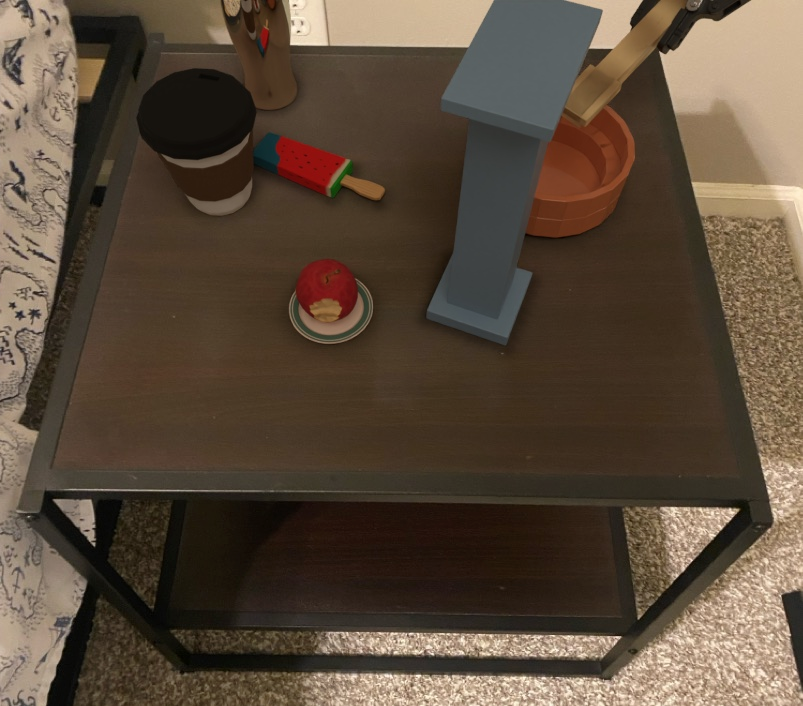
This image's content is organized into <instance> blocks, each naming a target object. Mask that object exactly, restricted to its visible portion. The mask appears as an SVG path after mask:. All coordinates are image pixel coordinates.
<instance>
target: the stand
mask: <svg viewBox="0 0 803 706" xmlns="http://www.w3.org/2000/svg"><path fill="white" fill-rule="evenodd" d="M603 12H604V10H603V9H602V8H598V7H594V6H590V5H586V4H583V3H582V4H581V3H577V2H574V1H570V0H493V1H492V3H491V4H490V6H489V8H488V10H487V12H486V14H485V16H484V18H483V19H482V21H481V23H480V25H479V27H478V29H477V30H476V32H475V34H474V36H473V38H472V40H471V42H470V44H469V45H468V48H467V49H466V51H465V53H464V54H463V57H462V59H461V61H460V62H459V64H458V66H457V68H456V69H455V71H454V73H453V75H452V77H451V79H450V80H449V82H448V84H447V86H446V88H445V90H444V92H443V93H442V96H441V97H440V106H439V107H440V109H439V110H440V111H441V112H444V113H448V114H451V115H454V116H458V117H461V118H465V119H468V125H467V126H468V127H467V136H466V144H465V152H464V161H463V168H462V169H463V170H462V177H461V186H460V193H459V200H458V201H459V203H458V210H457V219H456V228H455V236H454V246H453V251H452V254H451V256H450V259H449V260H448V263H447V265H446V267H445V270H444V272H443V273H442V276H441V278H440V281H439V282H438V285H437V287H436V289H435V292H434V294H433V295H432V298H431V299H430V302H429V305H428V307H427V309H426V315H425V316H426V317H425V318H426V320H428V321H432V322H434V323H438V324H441V325H443V326H447V327H450V328H452V329H455V330H458V331H462V332H464V333H467V334H470V335H473V336H475V337H479V338H482V339H484V340H488V341H491V342H493V343H496V344H499V345H502V346H507V344H508V341H509V339H510V336H511V334H512V331H513V328H514V326H515V324H516V321H517V317H518V315H519V313H520V310H521V308H522V304H523V302H524V299H525V297H526V294H527V291H528V289H529V286H530V284H531V281H532V278H533V272H532V271H529V270H527V269H523V268H521V267H518V263H519V259H520V255H521V251H522V248H523V244H524V240H525V237H526V233H525V232H526V228H527V224H528V220H529V216H530V212H531V208H532V205H533V201H534V197H535V193H536V189H537V185H538V181H539V177H540V173H541V169H542V165H543V161H544V157H545V153H546V149H547V145H548V142H551V140H552V137H553V135H554V133H555V130H556V128H557V125H558V123H559V120H560V118H561V115H562V113H563V111H564V108H565V106H566V103H567V101H568V98H569V96H570V94H571V91H572V89H573V86H574V84H575V81H576V79H577V77H578V76H579V75H580V72H581V70H582V67H583V64H584V62H585V59H586V57H587V55H588V52H589V49H590V47H591V44H592V42H593V40H594V38H595V35H596V33H597V31H598V29H599V25H600V23H601V19H602V16H603Z"/></svg>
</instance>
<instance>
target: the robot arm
mask: <svg viewBox="0 0 803 706" xmlns="http://www.w3.org/2000/svg"><path fill="white" fill-rule="evenodd" d="M659 1H660V0H642V1H641V2H640V4H639V5H638V7H637V8H636V10H635V11H634V13H633V14H632V16H631V17H630V21H629V25H630V27H631V28H630V30H629V32H630V31H631V30H632V29H633V28H634V27H635V26H636V25H637V24H638V23H639V22H640V21H641V20H642V19H643V18H644V17H645V16H646V15H647V14H648V13H649V12H650V11H651V9H652V8H653V7H654V6H655V5H656V4H657V3H658V2H659ZM751 1H752V0H688V1H687V4H686V7H685V9H683V8H681V9H680V10H679V12H678V13H677V15H676V16H675V18H674V19H673V21H672V23H671V25H670V26H669V28H668V29H667V31H666V32H665V33H664V35H663V36H662V38H661V39H660V41H659V42H658V44H657V47H656V49H657V51H658V52H659V53H661V54H663V55H667V54H668V53H669V52H670V50H671V51H672V52H674V51H676V50H677V49H678V48H679V47H680V46H681V44H682V43H683V42H684V40H685V39H686V38H687V36H688V34H689V33H690V31H691V30H692V29H693V27H694V26H695V24H697V22H698V21H700V20H704V19H705V20H706V19H707V20H712V21H713V22H720V21H722V20H723V19H725V18H727V17H728V16H730V15H731V14H732V13H734V12H736V11H737V10H739V9H741V8H742V7H743V6H745V5H746V4H748V3H749V2H751Z"/></svg>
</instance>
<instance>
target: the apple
mask: <svg viewBox="0 0 803 706" xmlns="http://www.w3.org/2000/svg"><path fill="white" fill-rule="evenodd" d="M373 310H374V302H373V297H372V294H371V293H370V290H369V289H368V288H367V287H366V285H364V283H362V282H361V281H360V280H359V279H357V278H356V277H355V276H354V274H353V272H352V271H351V270H350V268H349V267H348V266H347V265H346V264H345V263H342V262H341V261H339V260H336V259H331V258H324V259H323V258H322V259H317V260H314V261H312V262H309V263H308V264H307V265H305V266H304V267H303V269H302V270H301V271H300V273H299V276H298V278H297V281H296V285H295V291H294V292H293V293H292V295H291V298H290V300H289V304H288V315H289V319H290V321H291V324H292V325H293V327H294V329H295V330H296V331H297V332H298V333H299V334H300V335H301V336H303V337H304V338H305V339H307V340H310V341H312V342H315V343H318V344H324V345H333V344H340V343H344V342H348V341H349V340H352V339H354V338H356V337H357V336H358V335H359V334H362V332H363V331H364V330H365V329H366V328H367V326H368V325H369V323H370V321H371V319H372V317H373V312H374V311H373Z"/></svg>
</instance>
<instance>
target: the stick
mask: <svg viewBox="0 0 803 706" xmlns="http://www.w3.org/2000/svg"><path fill="white" fill-rule="evenodd" d="M687 1H688V0H660V1H659V2H658V3H657V4H656V5H655V6H654V7H653V8H652V9H651V11H650V12H649V13H648V14H647V15H646V16H645V17H644V18H643V19H642V20H641V21H640V22H639V23H638V24H637V25H636V26H635V27H634V28H633V29H632V30H631V29H630V30H631V31H630V30H629V32H628V33H626V35H625V36H624V37H623V38H622V39H621V41H619V42H618V44H616V46H614V47H613V48H612V50H611V51H610V52H608V53H607V55H606V56H605V57H604V58H603V59H602V60H601V61H600V62H599V63H598V64H597V65H596V66H594V65H593V64H592V63H590V64H589V65H587V67H586V68H585V69H584V70H583V71H581V73H579V74H578V76H577V79H576V81H575V84H574V86H573V89H572V91H571V94H570V96H569V98H568V101H567V103H566V106H565V108H564V111H563V113H562V115H561V116H562V117H564V118H565V119H567V120H568V121H570V122H571V123H573V124H574V125H576V126H577V127H579V128H580V127H581V126H582V125H583V126H584V127H586V126H587V125H588V124H589V123H590V122H591V121H592V120H593V119H594V117H595V116H596V115H597V114H598V113H599V112H600V111H601V110H602V109H603V108H604V107H605V106H606V105H607V106H608V104H609V103H610V102H611V101H612V100H613V99H614V98H615V97H616V96H617V95H618V93H619V92H620V91H621V89H622V84H623V83H624V82H625V81H626V80H627V78H629V77H630V76H631V74H632V73H633V72H635V70H636V69H637V68H639V66H640V65H641V64H643V62H644V61H645V60H646V59H647V58H648V57H649V56H650V55H651V54H652V52H654V51H655V49H657V44H658V42H659V41H660V39H661V38H662V36H663V35H664V33H665V32H666V31H667V29H668V28H669V26H670V25H671V23H672V21H673V19H674V18H675V16H676V15H677V13H678V12H679V10H680V9H681V8H683V9H685V7H686V4H687Z"/></svg>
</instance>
